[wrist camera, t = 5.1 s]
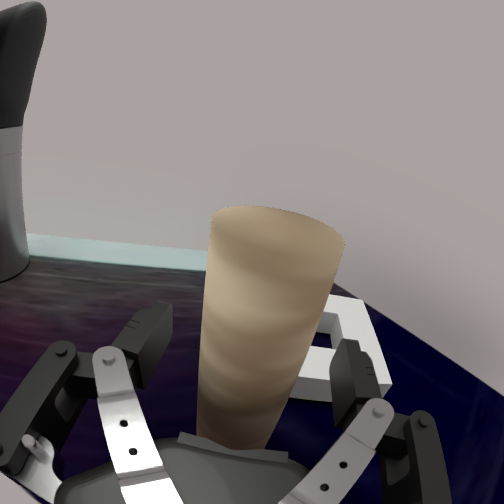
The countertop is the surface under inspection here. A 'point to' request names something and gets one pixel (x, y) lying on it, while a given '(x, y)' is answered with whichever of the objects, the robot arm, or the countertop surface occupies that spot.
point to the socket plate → (338, 326)
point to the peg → (259, 317)
